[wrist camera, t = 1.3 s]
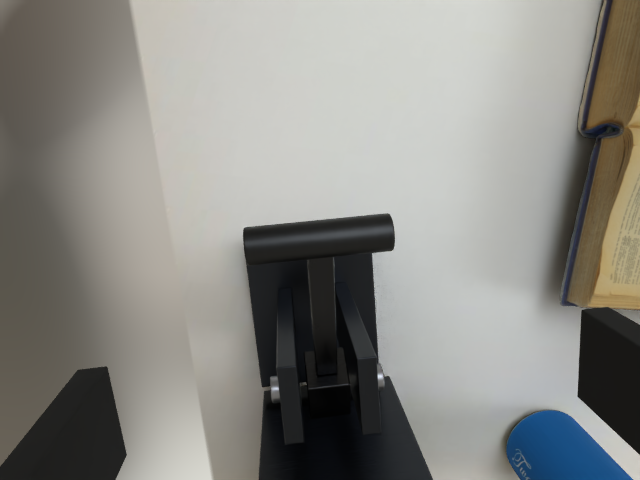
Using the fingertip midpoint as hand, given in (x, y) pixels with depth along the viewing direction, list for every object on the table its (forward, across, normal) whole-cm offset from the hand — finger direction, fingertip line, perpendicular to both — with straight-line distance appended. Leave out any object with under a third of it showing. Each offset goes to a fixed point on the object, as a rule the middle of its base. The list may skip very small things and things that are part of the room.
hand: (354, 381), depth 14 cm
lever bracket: (+23, 0, -7) cm, 24 cm away
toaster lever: (+11, 0, -2) cm, 11 cm away
